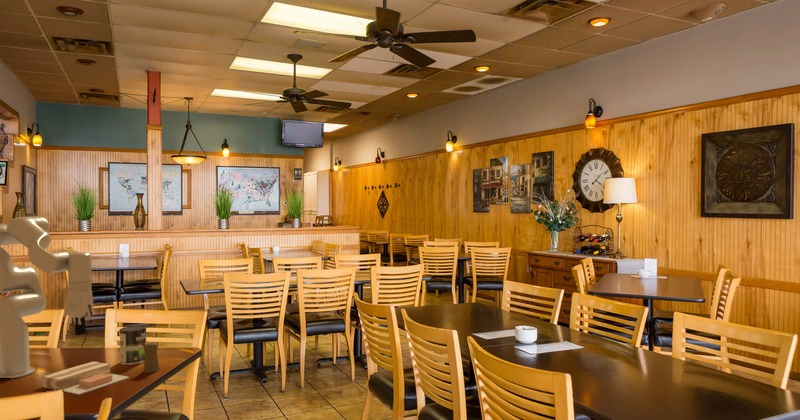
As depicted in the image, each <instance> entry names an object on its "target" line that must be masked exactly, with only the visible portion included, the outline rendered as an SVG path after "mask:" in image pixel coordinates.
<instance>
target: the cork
mask: <svg viewBox="0 0 800 420" xmlns="http://www.w3.org/2000/svg"><path fill="white" fill-rule="evenodd" d="M158 349H159V345H158V343H157V342H146V344H145V345H144V351H145V360H144V362H143V368H142V369H143V370H142V372H143V373H145V374H152V373H151V372H153V373H156V372H155V371H157V372H159V371H160V364H159V363H160V362H159V357H158ZM158 370H159V371H158Z"/></svg>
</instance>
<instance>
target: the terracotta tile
mask: <svg viewBox="0 0 800 420" xmlns="http://www.w3.org/2000/svg"><path fill="white" fill-rule="evenodd" d="M110 381H113V379H112V375H108V374H103V373H101V374H98V375H95V376H92V377H89V378H85V379H82V380H79V386H82V387H87V388H92V387H95V386H98V385H101V384H104V383H107V382H110Z"/></svg>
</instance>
